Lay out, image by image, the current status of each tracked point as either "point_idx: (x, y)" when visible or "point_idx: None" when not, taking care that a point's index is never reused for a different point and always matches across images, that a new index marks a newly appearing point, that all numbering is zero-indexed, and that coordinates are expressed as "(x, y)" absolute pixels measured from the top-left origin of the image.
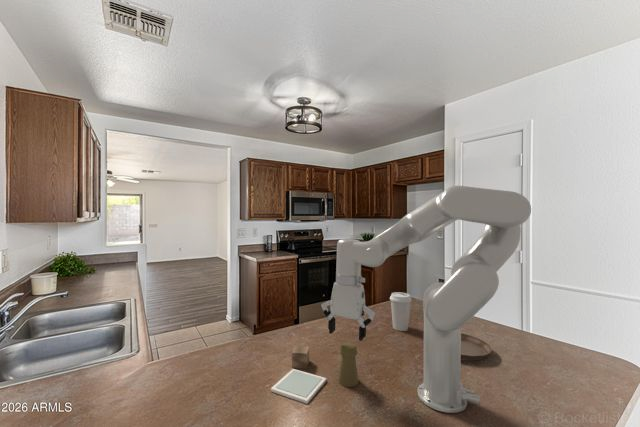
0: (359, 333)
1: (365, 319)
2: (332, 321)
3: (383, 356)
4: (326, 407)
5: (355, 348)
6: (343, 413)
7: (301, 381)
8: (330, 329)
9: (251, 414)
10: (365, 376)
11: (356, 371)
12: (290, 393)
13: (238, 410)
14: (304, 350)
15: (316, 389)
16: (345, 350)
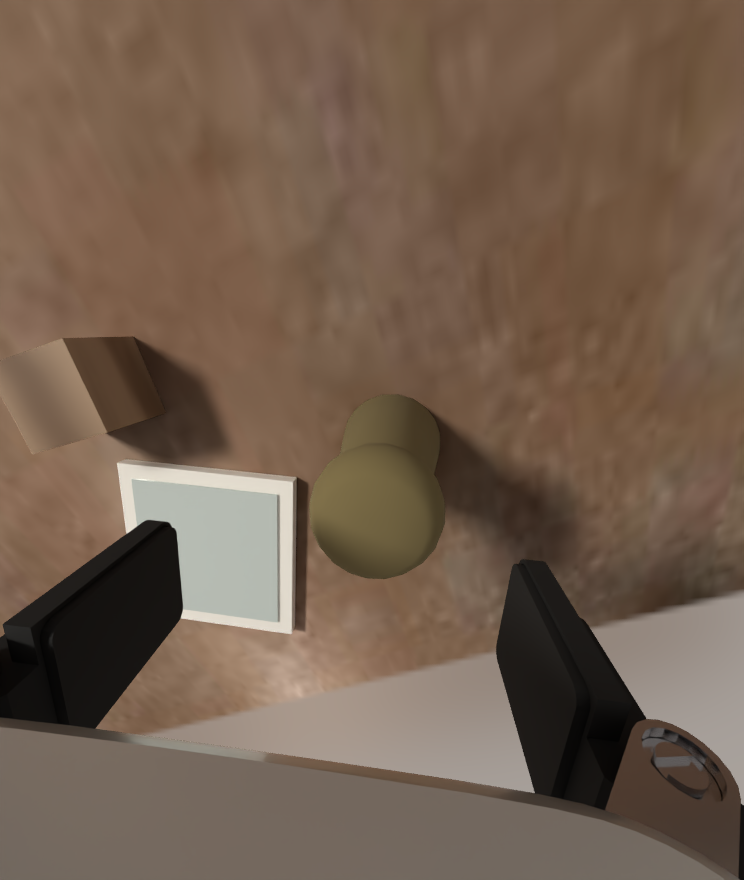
0: (522, 728)
1: (734, 875)
2: (77, 721)
3: (551, 35)
4: (364, 622)
5: (437, 531)
6: (431, 633)
7: (209, 542)
8: (145, 652)
9: (172, 703)
10: (465, 369)
11: (435, 462)
12: (216, 616)
13: (128, 699)
14: (71, 401)
15: (290, 568)
16: (368, 576)
